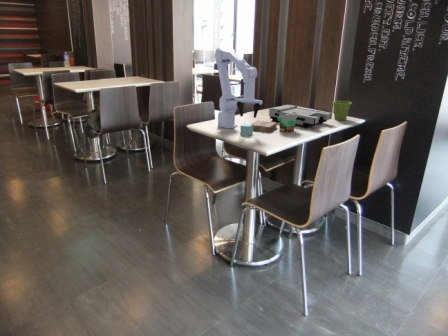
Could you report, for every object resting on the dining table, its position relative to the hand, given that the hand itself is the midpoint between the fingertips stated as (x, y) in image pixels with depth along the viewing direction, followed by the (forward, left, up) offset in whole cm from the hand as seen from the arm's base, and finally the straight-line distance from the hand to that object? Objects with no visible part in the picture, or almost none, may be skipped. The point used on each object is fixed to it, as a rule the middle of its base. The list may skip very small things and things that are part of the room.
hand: (248, 116), depth 184 cm
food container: (+19, +16, -10) cm, 27 cm away
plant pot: (+39, +62, -10) cm, 74 cm away
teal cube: (0, -1, -10) cm, 10 cm away
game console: (+17, +40, -10) cm, 45 cm away
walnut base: (+4, +14, -9) cm, 18 cm away
